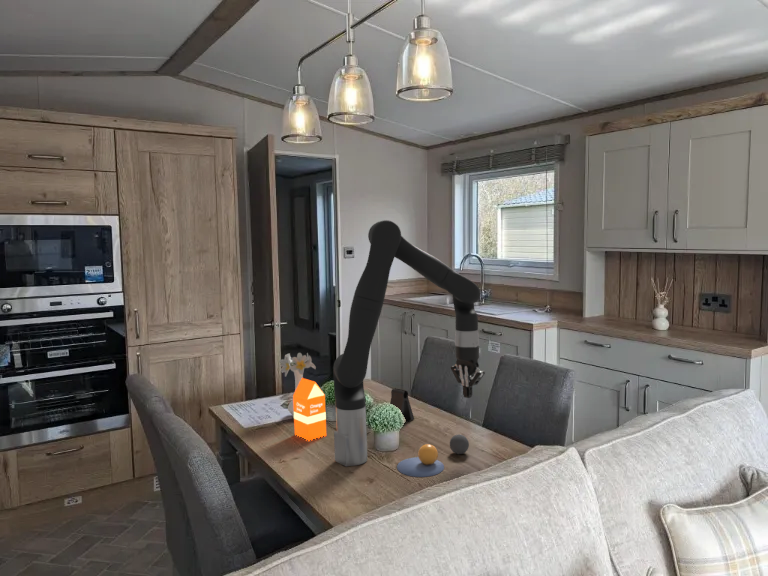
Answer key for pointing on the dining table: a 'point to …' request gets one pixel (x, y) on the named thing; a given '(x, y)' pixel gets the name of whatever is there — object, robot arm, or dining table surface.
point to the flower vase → (295, 370)
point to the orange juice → (309, 410)
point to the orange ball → (428, 454)
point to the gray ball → (459, 444)
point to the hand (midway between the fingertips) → (467, 397)
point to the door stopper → (402, 403)
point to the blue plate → (419, 467)
